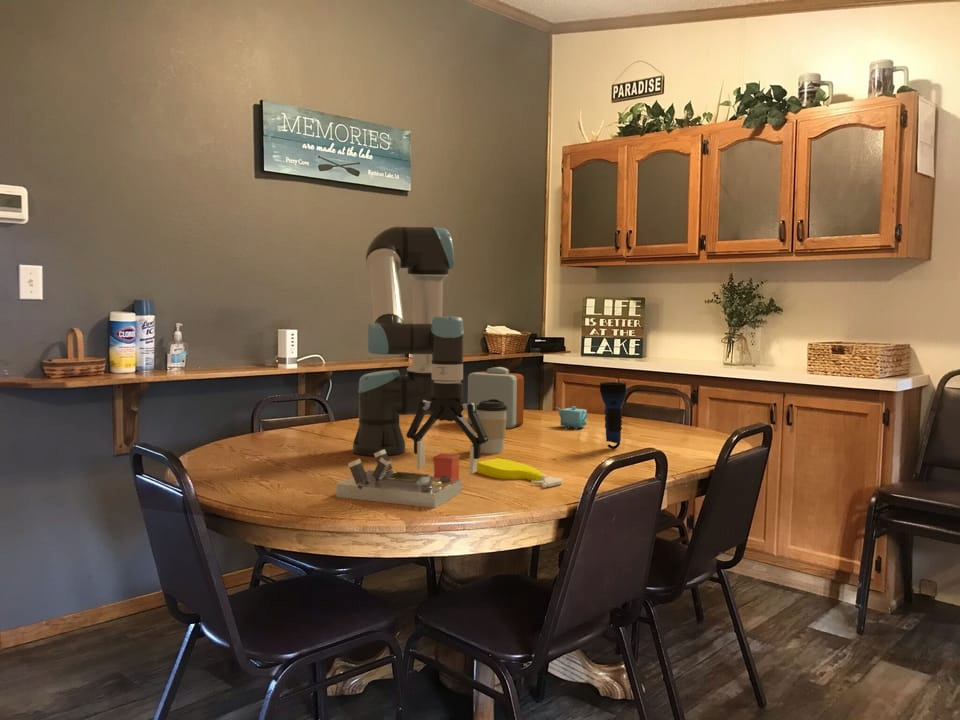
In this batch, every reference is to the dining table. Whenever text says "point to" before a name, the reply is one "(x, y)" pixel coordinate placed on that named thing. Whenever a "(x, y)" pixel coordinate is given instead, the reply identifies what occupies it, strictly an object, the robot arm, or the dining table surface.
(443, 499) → the panel
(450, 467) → the lockout cap
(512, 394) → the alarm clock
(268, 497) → the dining table surface
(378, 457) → the breaker
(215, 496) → the dining table surface
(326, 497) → the dining table surface
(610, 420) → the flashlight
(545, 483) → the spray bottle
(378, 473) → the breaker
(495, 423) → the coffee cup
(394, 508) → the dining table surface
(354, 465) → the breaker
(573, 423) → the teapot
